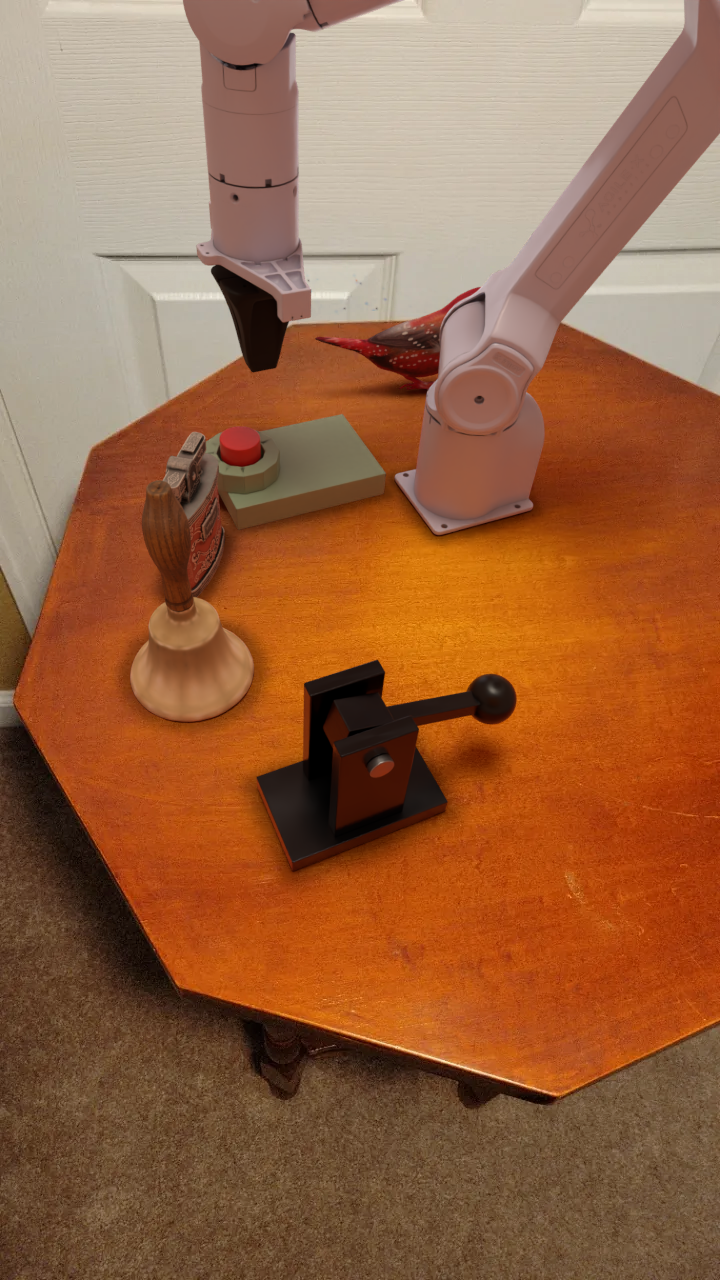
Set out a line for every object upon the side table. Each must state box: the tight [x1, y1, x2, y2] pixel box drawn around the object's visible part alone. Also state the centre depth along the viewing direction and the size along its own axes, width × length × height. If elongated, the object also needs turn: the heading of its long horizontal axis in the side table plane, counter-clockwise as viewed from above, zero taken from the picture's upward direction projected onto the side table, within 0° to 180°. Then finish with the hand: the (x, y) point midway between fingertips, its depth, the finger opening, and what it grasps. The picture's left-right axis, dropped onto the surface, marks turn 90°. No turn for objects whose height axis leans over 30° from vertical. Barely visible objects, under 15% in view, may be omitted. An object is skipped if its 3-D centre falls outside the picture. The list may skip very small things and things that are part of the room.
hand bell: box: [129, 479, 255, 723], centre depth 49 cm, size 8×8×16 cm
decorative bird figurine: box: [314, 286, 482, 391], centre depth 75 cm, size 3×18×10 cm, turn 103°
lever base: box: [255, 659, 449, 872], centre depth 46 cm, size 10×6×10 cm, turn 114°
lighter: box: [162, 431, 226, 598], centre depth 58 cm, size 8×3×10 cm, turn 168°
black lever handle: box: [323, 673, 518, 747], centre depth 45 cm, size 12×3×3 cm, turn 114°
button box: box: [205, 413, 387, 531], centre depth 67 cm, size 14×9×4 cm, turn 114°
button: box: [219, 425, 261, 467], centre depth 64 cm, size 3×3×2 cm
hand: (261, 365), depth 61 cm, fingers closed
